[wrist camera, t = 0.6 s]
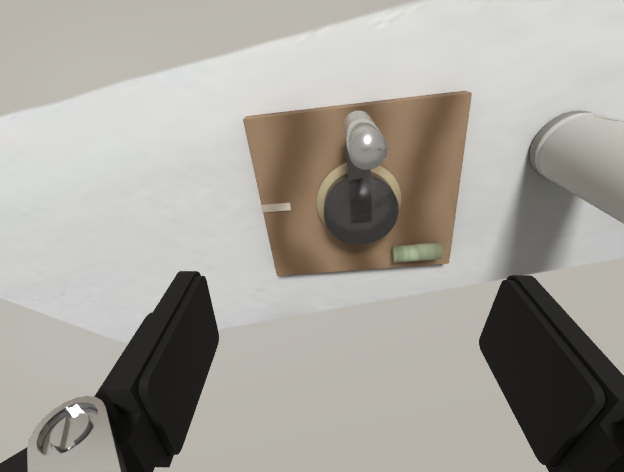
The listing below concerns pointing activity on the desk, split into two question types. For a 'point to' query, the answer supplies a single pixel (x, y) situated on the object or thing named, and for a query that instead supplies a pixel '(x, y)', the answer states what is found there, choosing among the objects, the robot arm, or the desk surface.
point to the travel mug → (584, 158)
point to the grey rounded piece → (361, 187)
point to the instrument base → (394, 169)
